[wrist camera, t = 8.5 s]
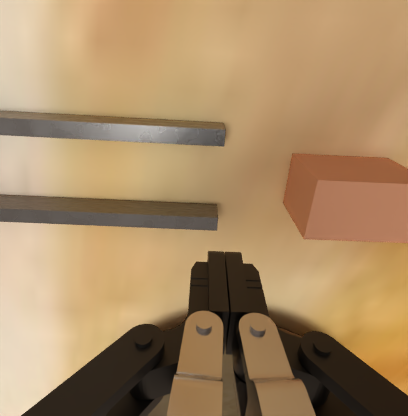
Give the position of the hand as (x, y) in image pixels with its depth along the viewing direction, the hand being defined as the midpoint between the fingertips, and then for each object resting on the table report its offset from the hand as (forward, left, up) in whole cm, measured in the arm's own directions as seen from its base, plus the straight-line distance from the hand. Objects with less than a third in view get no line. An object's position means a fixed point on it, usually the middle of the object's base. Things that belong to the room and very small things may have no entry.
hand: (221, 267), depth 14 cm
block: (-11, 0, -13) cm, 17 cm away
